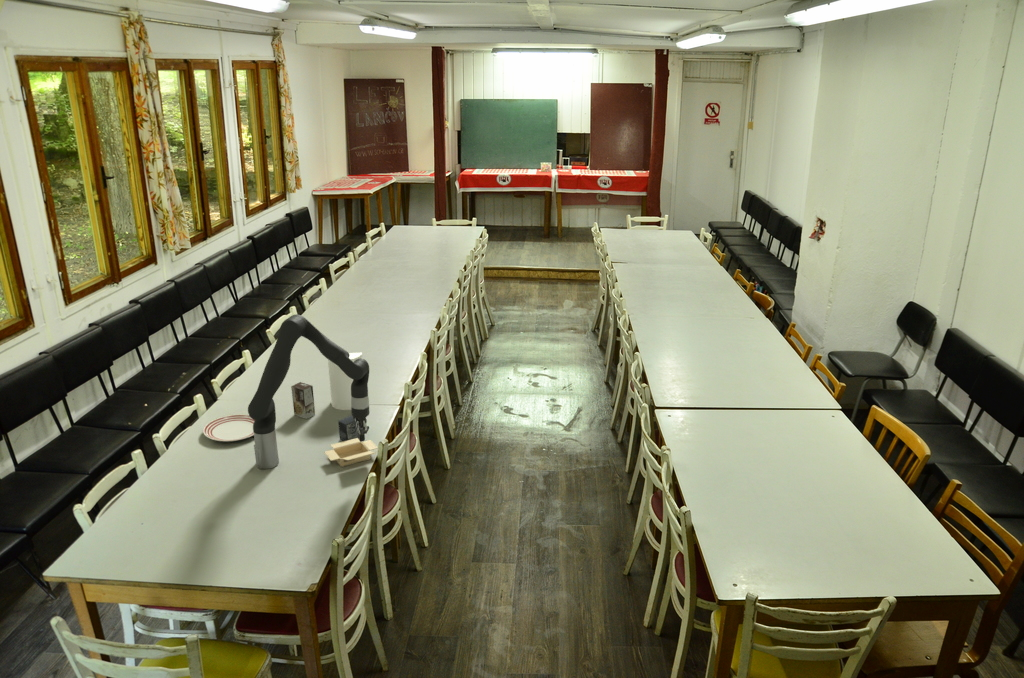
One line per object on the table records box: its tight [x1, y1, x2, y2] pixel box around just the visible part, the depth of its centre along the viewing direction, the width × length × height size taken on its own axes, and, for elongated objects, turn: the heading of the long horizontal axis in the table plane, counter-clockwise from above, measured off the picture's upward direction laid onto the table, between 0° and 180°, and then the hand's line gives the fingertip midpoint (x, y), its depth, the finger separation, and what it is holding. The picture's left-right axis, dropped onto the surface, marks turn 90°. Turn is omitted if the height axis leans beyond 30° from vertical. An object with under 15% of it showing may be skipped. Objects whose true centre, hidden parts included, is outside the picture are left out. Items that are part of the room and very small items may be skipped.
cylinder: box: [327, 352, 364, 411], centre depth 394 cm, size 17×17×28 cm
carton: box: [323, 438, 379, 468], centre depth 348 cm, size 22×14×4 cm, turn 122°
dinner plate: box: [202, 413, 255, 443], centre depth 367 cm, size 28×27×3 cm
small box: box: [337, 414, 359, 442], centre depth 363 cm, size 11×6×10 cm, turn 141°
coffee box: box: [290, 381, 316, 420], centre depth 383 cm, size 9×6×16 cm
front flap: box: [342, 450, 377, 460], centre depth 337 cm, size 13×1×9 cm
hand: (361, 440), depth 329 cm, fingers closed
